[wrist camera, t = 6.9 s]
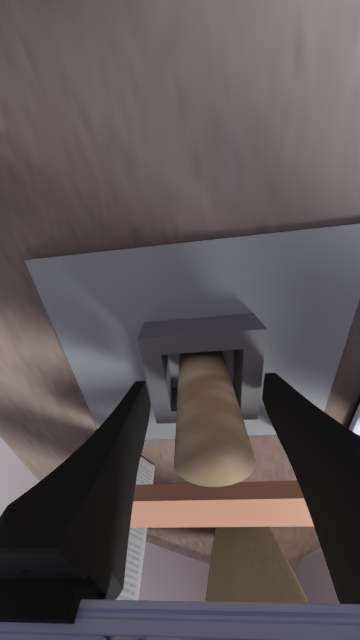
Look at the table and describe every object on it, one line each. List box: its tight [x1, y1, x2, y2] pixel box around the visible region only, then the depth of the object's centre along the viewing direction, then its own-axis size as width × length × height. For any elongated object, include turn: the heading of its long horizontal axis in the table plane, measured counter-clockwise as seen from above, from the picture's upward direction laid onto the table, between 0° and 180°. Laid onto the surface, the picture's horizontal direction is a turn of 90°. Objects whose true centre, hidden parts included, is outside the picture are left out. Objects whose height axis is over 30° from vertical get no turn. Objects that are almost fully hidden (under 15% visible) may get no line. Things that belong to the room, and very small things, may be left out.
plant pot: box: [206, 527, 309, 603], centre depth 20 cm, size 15×15×16 cm
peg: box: [174, 351, 256, 487], centre depth 11 cm, size 3×3×7 cm
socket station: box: [24, 223, 360, 528], centre depth 12 cm, size 20×17×7 cm
